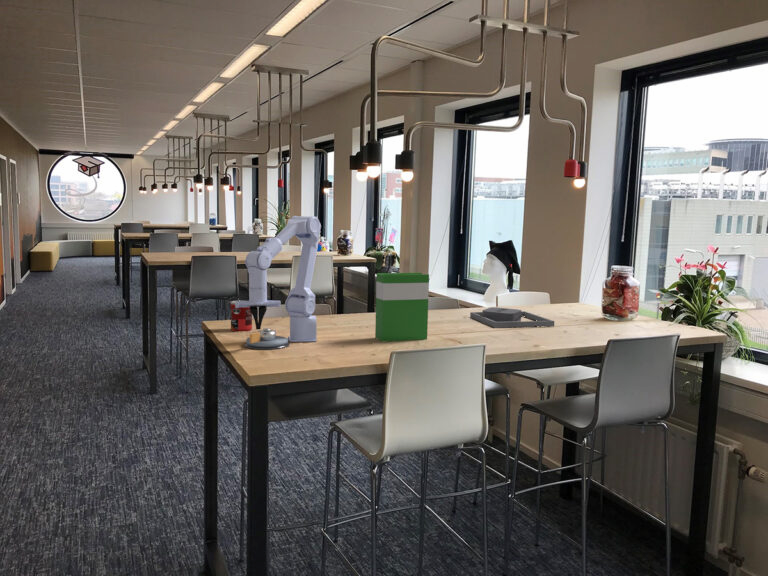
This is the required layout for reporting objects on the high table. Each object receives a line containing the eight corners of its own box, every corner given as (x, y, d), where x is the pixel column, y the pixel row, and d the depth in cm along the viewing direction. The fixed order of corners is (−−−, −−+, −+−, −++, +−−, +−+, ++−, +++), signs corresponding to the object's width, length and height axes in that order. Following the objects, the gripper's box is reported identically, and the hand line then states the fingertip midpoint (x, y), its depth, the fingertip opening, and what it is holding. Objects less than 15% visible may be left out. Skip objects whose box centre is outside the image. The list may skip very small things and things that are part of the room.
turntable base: (287, 340, 222) (287, 338, 222) (291, 349, 207) (291, 347, 207) (244, 341, 218) (244, 340, 218) (245, 350, 204) (245, 348, 204)
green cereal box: (419, 335, 236) (420, 272, 234) (427, 339, 229) (429, 274, 227) (375, 337, 230) (376, 273, 227) (382, 341, 223) (383, 275, 221)
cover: (279, 339, 213) (279, 328, 213) (267, 341, 208) (267, 331, 208) (266, 337, 217) (266, 326, 216) (254, 339, 212) (254, 329, 211)
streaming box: (491, 318, 283) (491, 307, 283) (522, 321, 276) (523, 309, 276) (480, 322, 271) (480, 310, 270) (512, 326, 264) (512, 313, 263)
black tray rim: (524, 316, 289) (525, 311, 289) (554, 326, 263) (554, 321, 263) (470, 317, 282) (470, 312, 282) (494, 328, 256) (494, 322, 256)
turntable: (265, 337, 222) (265, 325, 222) (296, 342, 215) (296, 330, 214) (235, 344, 210) (235, 331, 209) (266, 349, 202) (266, 336, 202)
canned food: (229, 328, 241) (229, 300, 240) (249, 327, 244) (249, 300, 243) (232, 332, 234) (232, 303, 233) (253, 331, 237) (253, 302, 236)
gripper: (235, 289, 198) (235, 331, 200) (281, 289, 201) (281, 330, 203) (235, 287, 205) (235, 327, 206) (279, 286, 208) (279, 326, 210)
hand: (258, 328), depth 205 cm, fingers closed
